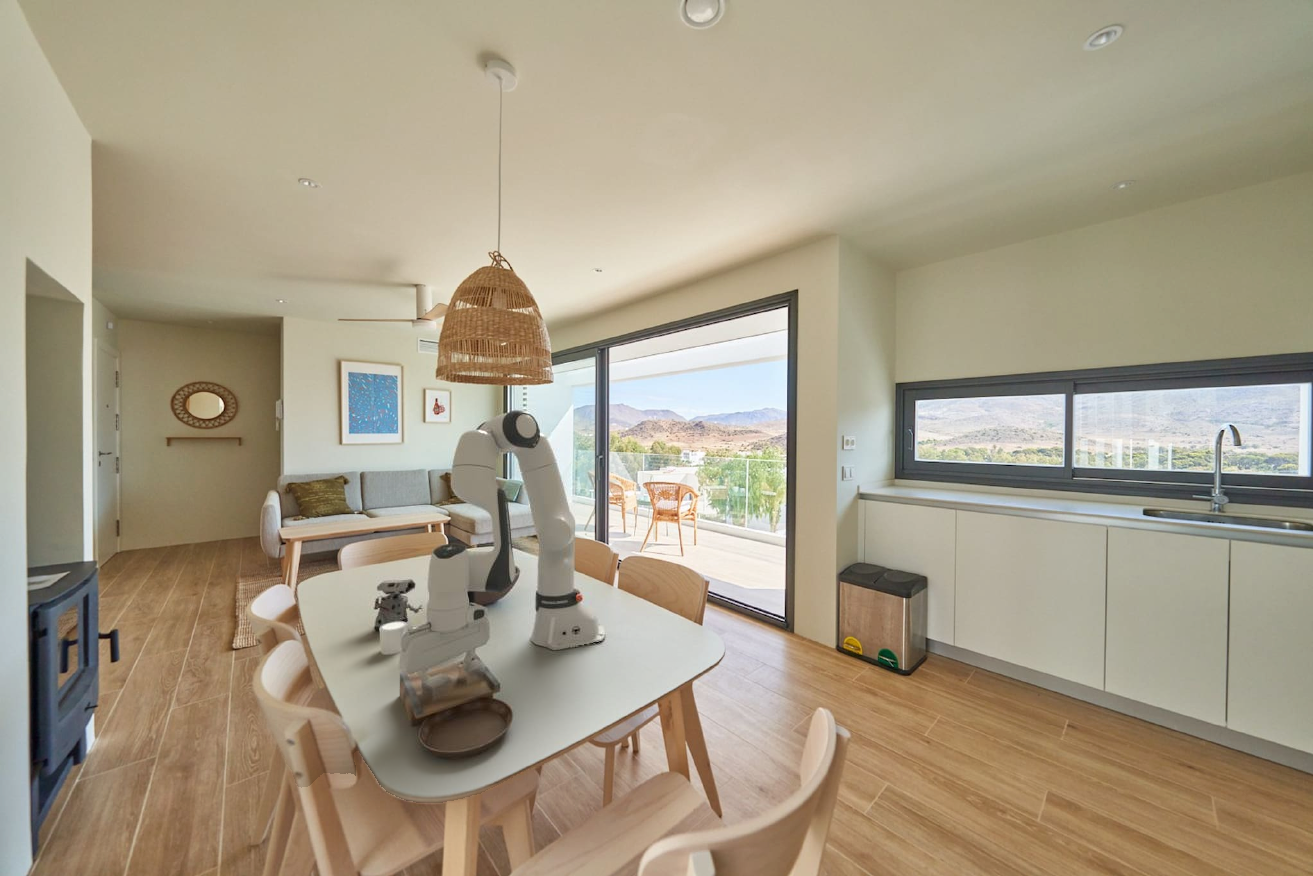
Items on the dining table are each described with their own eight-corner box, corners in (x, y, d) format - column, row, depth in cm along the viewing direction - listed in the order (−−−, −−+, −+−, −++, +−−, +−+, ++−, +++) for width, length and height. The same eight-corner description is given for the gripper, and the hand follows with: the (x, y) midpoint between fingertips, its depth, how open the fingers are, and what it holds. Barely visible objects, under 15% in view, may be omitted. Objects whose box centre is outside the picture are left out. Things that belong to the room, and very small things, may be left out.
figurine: (399, 635, 139) (400, 586, 139) (370, 630, 143) (371, 582, 143) (422, 624, 148) (423, 578, 148) (394, 619, 151) (395, 574, 151)
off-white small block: (421, 695, 100) (422, 681, 100) (441, 686, 103) (441, 673, 103) (432, 702, 97) (432, 687, 97) (452, 693, 101) (452, 679, 101)
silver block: (458, 678, 107) (458, 665, 107) (476, 671, 110) (476, 659, 110) (466, 685, 104) (466, 672, 104) (485, 678, 107) (485, 665, 107)
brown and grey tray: (399, 695, 107) (400, 672, 107) (474, 673, 117) (474, 652, 117) (415, 736, 92) (416, 709, 92) (499, 707, 103) (500, 683, 103)
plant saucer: (512, 756, 87) (512, 740, 87) (409, 774, 82) (409, 757, 82) (513, 705, 104) (513, 692, 104) (427, 717, 99) (428, 703, 99)
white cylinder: (394, 657, 125) (394, 631, 126) (372, 654, 127) (373, 629, 127) (412, 646, 132) (412, 622, 132) (391, 643, 134) (392, 619, 134)
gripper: (409, 635, 95) (407, 702, 95) (494, 607, 112) (492, 664, 112) (394, 627, 99) (392, 692, 98) (478, 601, 115) (477, 656, 115)
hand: (446, 676), depth 105 cm, fingers open, 8 cm apart
